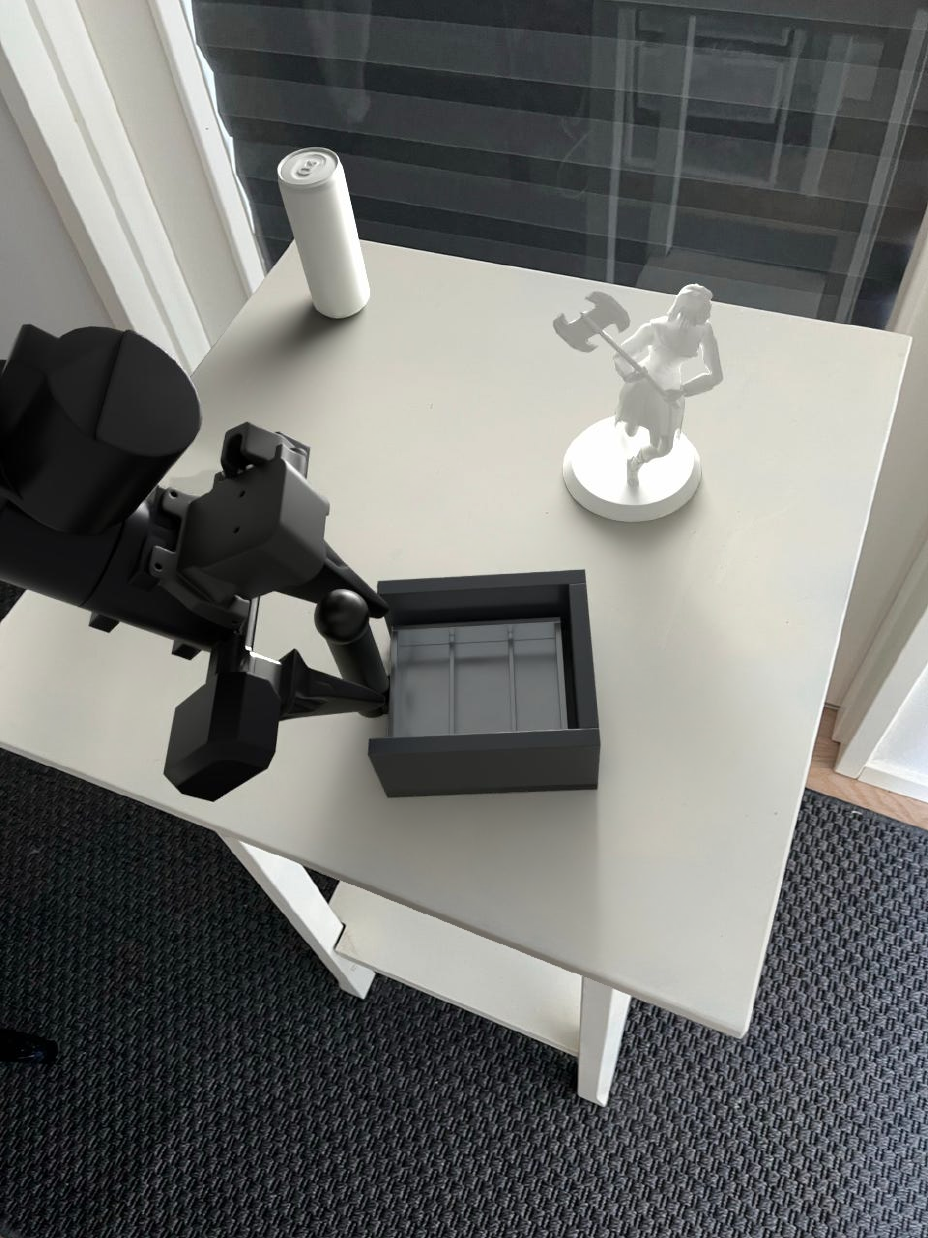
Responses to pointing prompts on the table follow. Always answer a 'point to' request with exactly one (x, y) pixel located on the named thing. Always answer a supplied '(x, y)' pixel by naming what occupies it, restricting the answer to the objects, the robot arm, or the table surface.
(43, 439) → the robot arm
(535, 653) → the pull-out drawer
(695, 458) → the figurine
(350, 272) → the beverage can
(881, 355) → the table surface
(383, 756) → the grey drawer case
